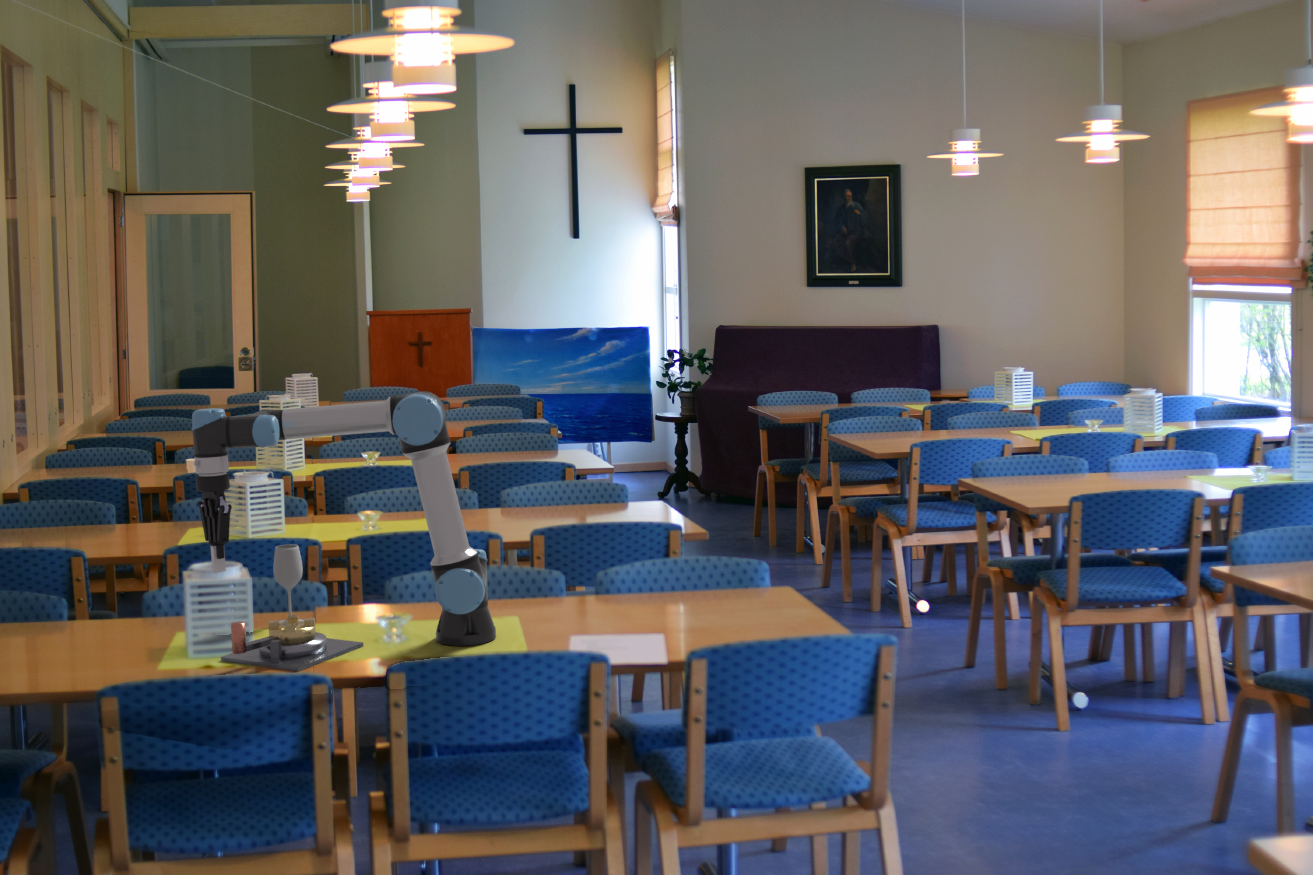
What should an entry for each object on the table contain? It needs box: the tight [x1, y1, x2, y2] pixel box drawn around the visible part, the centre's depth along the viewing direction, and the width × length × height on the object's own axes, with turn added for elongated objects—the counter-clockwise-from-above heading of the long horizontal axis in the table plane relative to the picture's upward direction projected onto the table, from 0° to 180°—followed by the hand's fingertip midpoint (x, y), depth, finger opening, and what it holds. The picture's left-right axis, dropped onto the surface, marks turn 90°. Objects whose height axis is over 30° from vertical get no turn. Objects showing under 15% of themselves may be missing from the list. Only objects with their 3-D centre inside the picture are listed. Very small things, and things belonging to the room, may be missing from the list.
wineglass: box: [272, 544, 304, 623], centre depth 353 cm, size 8×8×21 cm
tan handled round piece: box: [230, 614, 316, 654], centre depth 317 cm, size 23×11×7 cm, turn 146°
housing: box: [220, 631, 364, 672], centre depth 322 cm, size 24×24×6 cm
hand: (219, 571), depth 313 cm, fingers closed
